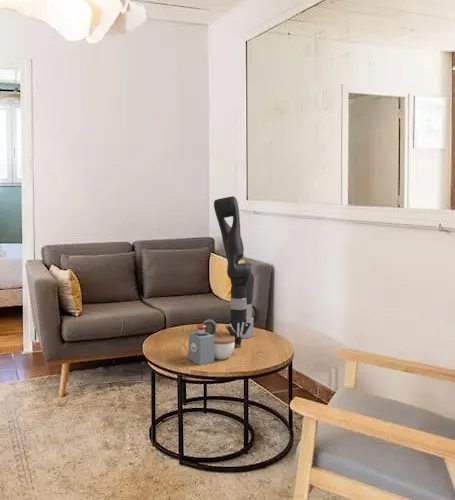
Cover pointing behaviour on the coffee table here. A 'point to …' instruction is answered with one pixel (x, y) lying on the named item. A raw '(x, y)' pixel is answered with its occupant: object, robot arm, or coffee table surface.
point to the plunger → (201, 329)
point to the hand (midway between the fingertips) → (237, 344)
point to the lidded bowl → (223, 346)
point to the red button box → (201, 348)
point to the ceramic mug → (210, 326)
